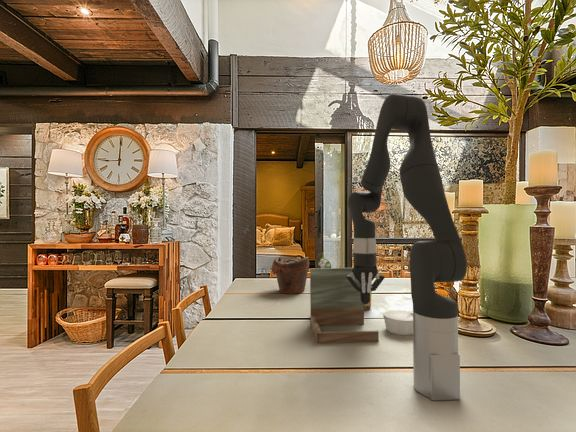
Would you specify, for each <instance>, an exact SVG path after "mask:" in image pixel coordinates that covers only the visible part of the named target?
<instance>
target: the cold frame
mask: <svg viewBox="0 0 576 432" xmlns="http://www.w3.org/2000/svg"><path fill="white" fill-rule="evenodd" d="M352 270H353V267H331V268H321V267H320V268H318V267H317V268H309V273H310V274H309V278H310V279H309V281H310V282H309V283H310V284H309V287H310V288H309V290H310V291H309V293H310V294H309V295H310V297H309V298H310V303H309V304H310V309H309V310H310V327H311V329H312V332H313V335H314V337H315V340H316V344H329V343H330V344H335V343H363V342H364V343H365V342H379V340H380V339H379V338H380V337H379V332H380V331H379V330H350V331H349V330H347V331H345V330H344V331H341V330H340V331H321V328H320V326H339V325H340V326H342V325H344V326H346V325H348V326H349V325H350V326H351V325H364V324H365V310H364V304H363V303H362V302H361V294H360V292H359V291H357V290H356V289H355V288H354V287H353V286H352V285H351V283H350V282H349V281H348V280H347V278H346V276H347V275H350V274H351V273H352ZM354 282H355V283H356V284H357V285H358V287H360V285H359V281H358V280H357V279H356V277H355V276H354Z"/></svg>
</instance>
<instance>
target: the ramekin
mask: <svg viewBox="0 0 576 432" xmlns="http://www.w3.org/2000/svg"><path fill="white" fill-rule="evenodd" d="M382 316H383V319H384V325H385V328H386V330H387V332H389V333H390V334H391V333H392V334H394V335H398V336H410V335H413V312H410V311H406V310H388V311H385V312H383V315H382Z"/></svg>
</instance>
